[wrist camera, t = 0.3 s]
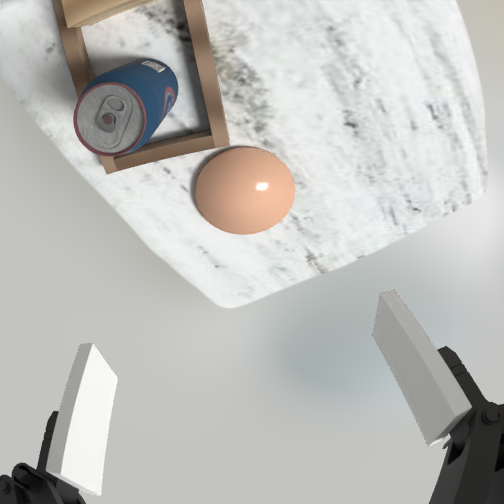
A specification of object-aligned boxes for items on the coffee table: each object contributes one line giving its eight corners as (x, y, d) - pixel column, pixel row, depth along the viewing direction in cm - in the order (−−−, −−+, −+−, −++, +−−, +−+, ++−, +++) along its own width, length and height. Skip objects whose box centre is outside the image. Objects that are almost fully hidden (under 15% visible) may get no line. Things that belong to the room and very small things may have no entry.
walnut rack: (59, -16, 15) (-38, -17, 4) (188, -66, 14) (155, -130, 3) (112, 166, 32) (58, 253, 21) (229, 139, 31) (229, 221, 20)
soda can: (160, 127, 30) (129, 178, 21) (108, 102, 27) (55, 143, 18) (192, 75, 26) (171, 99, 17) (136, 47, 23) (87, 60, 14)
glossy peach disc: (238, 126, 30) (238, 129, 30) (313, 186, 36) (314, 189, 35) (177, 200, 36) (176, 203, 35) (250, 244, 42) (250, 248, 41)
